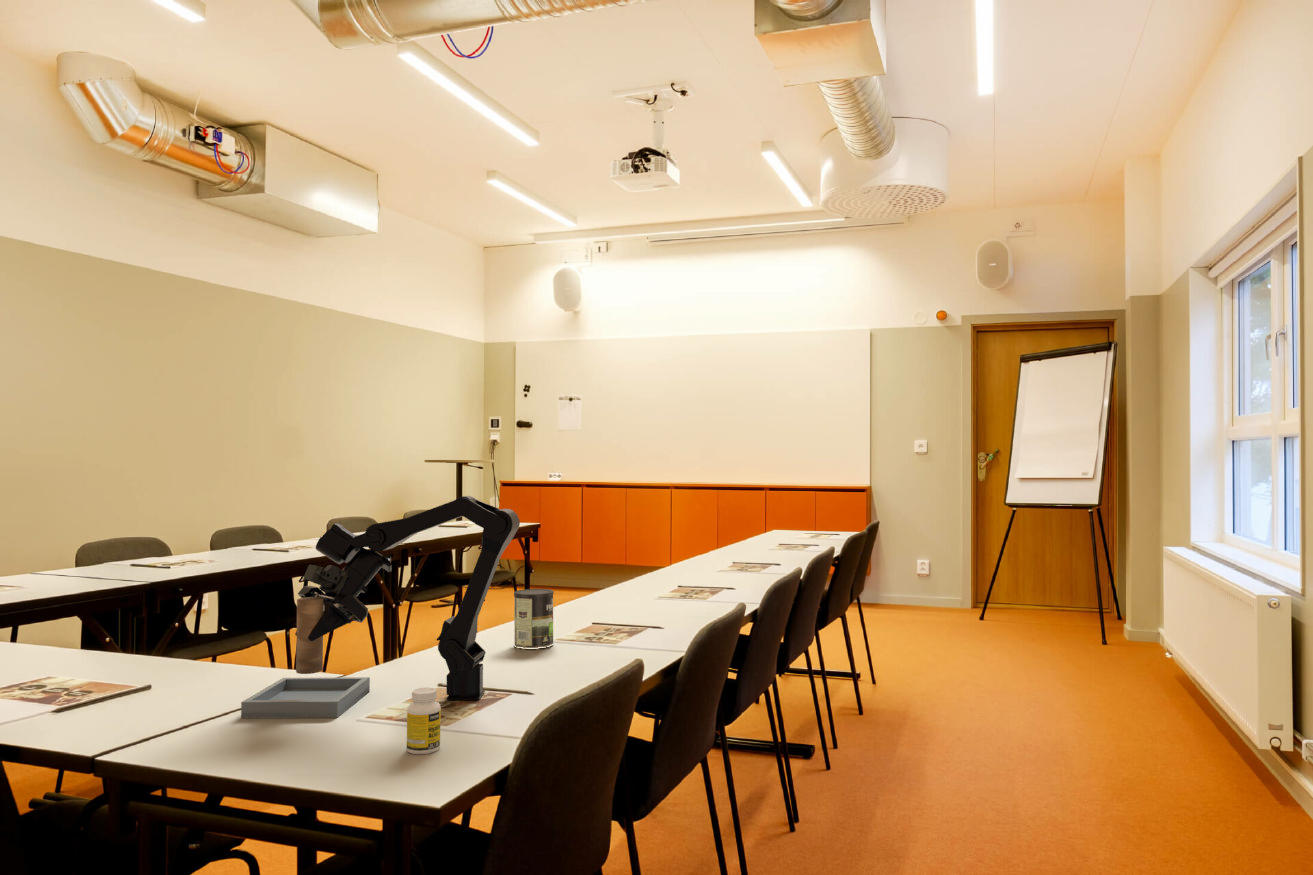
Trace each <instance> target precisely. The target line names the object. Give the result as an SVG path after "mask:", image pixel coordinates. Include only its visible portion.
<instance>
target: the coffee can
mask: <svg viewBox="0 0 1313 875" xmlns="http://www.w3.org/2000/svg"><path fill="white" fill-rule="evenodd" d="M554 594H555V593H554V590H552V589H548V588H547V589H546V588H526V589H525V588H524V589H519V590H518V589H517V590H515V591H513V597H514V600H513V601H514V605H513V606H514V611H513V612H514V614H513V615H514V618H513V619H514V629H513V630H514V635H513V636H514V645H515V646H516V647H523V648H538V647H547V646H550V645H552V644H554ZM514 645H513V646H514Z"/></svg>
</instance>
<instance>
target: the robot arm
mask: <svg viewBox="0 0 1313 875" xmlns="http://www.w3.org/2000/svg"><path fill="white" fill-rule="evenodd" d="M462 517H463V518H465V519H467V520H468V521H470V522H472V523H473V524H475V525H476V526H478V527H480V528H482V529H483V530H482V533H481V534H482V535H481V536H482V537H481V549H480V552H479V556H478V558H477V561H476V563H475V565H474V568H473V570H472V571H473V572H472V574H471V576H470V578H469V582H468V584H467V588H466V590H465V592H464V594H463V598H462V601H461V603H460V606H459V608H458V611H457V613H456V615H455V616H454V615H453V616H451V617H449V618H447V619H446V620H444V621H443V623H442V627H441V633H440V634H439V636H438V637H437V638H436V641H437V642H438V644H437V650H438V652H439V655H440V656H441V657H442V658H443V659H444V661H445V663H446V666H447V670H448V671H449V672H448V673H447V674H446V695H447V697H446V700H447V701H477V700H480V699H481V698H482V696H483V695H484V694H485V692H486V690H485V688H484V664H483V663H482V662H483V661H484V659H485V655H486V653H487V652H486V650H485V649H484V648H483V647H482V646H481V645H480V644H479V643H478V642H477V641H476V639H477V633H478V620H479V615H480V613H481V610H482V607H483V604H484V602H485V599H486V596H487V594H488V592H489V589H490V587H491V583H492V580H493V579H494V575H495V573H496V570H497V567H498V565H499V561H500V559H501V557H502V555H503V553H504V552H505V550H506V549H507V547H508V546H509V544H510V543H511V542H512V540H513V539H514V537H515V535H516V533H517V532H518V530H519V527H520V524H521V522H520V520H521V519H520V518H519V516H518V513H516V512H515V511H514V510H513V509H510V508H502V509H500V508H498V507H496V506H494V505H491V504H489V503H486V502H483V501H481V500H479V499H476V498H475V497H474V496H471V495H463V496H458V497H457V498H456V499H455V500H451V501H449V502H446V503H443V504H441V505H438V506H436V507H433V508H430V509H427V510H425V511H422V512H420V513H419V512H418V513H416V514H413V515H412V516H409V517H408V516H407V517H406V518H399V519H394V520H388V521H383V522H379V523H373V524H371V525H369V526H368V527H367V528H366V529H365V532H363V533H362V534H358V535H356V534H354V533H353V532H352V531H351V530H348V529H347V528H345V527H344V525H342V524H340V523H339V522H338V523H333V524H332V525H331V527H330V528H328V529H327V530H326V532H324V534H323V535H321V536H320V537H319V539H318V540H317V542H316V545H315V550H316V551H317V552H319V553H320V554H322V555H324V556H325V557H327V558H328V559H329V560H331V561H333V562H334V563H335V564H338V565H341V564H343V563H346V565H345V566H344V568H342V569H340V567H338V566H336V565H332V564H328V565H327V566H326V567H322V566H319V565H314V564H308V566H307V568H306V570H305V573H304V576H303V578H302V580H303V581H305V582H311V583H313V584H315V585H316V584H317V585H318V586H319V587H318V586H312V585H305V586H303V587H302V588H301V589H300V590H299V591H298V593H297V595H298V596H299V597H300V598H306V597H322V598H324V602H323V615H322V617H321V618H320V620H319V621H318V623H317V624H316V625H315V627H314V628H313V630H312V631H311V633H310V634H309V636H308V639H309V640H310V641H314V640H316V639H318V638H319V637H321V636H323V637H324V636H325V635H327V634H330V633H331V632H333V631H335V630H337V629H339V628H341V627H344V626H346V625H347V624H352V620H351V618H352V617H353V618H352V619H353V621H354V622H357V623H363V622H364V621H365V619H366V618H367V617H368V614H369V608H368V607H367V606H366V605H365V604H364V603H363V602H362V601H360V599H358V598H357V597H358V596H359V594H361V593H363V594H365V593H367V592H368V591H369V588H368V587H367V585H368V584H369V583H370V582H371V581H372V579H373V578H374V577H375V576H376V575H377V573H378V572H379V571H380V570H381V569H383V570H385V571H387V572H388V573H391V572H392V555H382V554H381V553H379V552H384V551H387V550H390V549H394V548H395V547H397V546H399V545H400V544H402V543H404V542H406V541H407V540H409V539H410V538H412V537H414V536H415V535H417V534H418V533H421V532H423V531H426V530H430V529H432V528H435V527H439V526H440V525H444V524H446V523H448V522H452V521H454V520H456V519H459V518H462ZM367 548H368V549H367ZM294 634H295V637H297V630H296V631H295V633H294ZM483 693H484V694H483Z"/></svg>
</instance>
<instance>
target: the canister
mask: <svg viewBox="0 0 1313 875" xmlns="http://www.w3.org/2000/svg"><path fill="white" fill-rule="evenodd" d="M323 602H324V598H322V597H306V598H301V597H300V598H298V599H296V631H297V636H296V659H295V673H296V674H297V675H298V674H300V675H308V674H309V675H311V674H317V673H320V672H322V671H324V635H323V636H321V637H319V638H318V639H316V640H314V641H310V640H309V639H308V636H309V634H310V633H311V631H312V630H313V628H314V627H315V625H316V624H317V623H318V621H319V620H320V618H321V617H322V615H323Z"/></svg>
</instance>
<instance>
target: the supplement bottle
mask: <svg viewBox="0 0 1313 875" xmlns="http://www.w3.org/2000/svg"><path fill="white" fill-rule="evenodd" d="M437 692H438V691H437V689H436V687H418V688H414V689H413V690H412V691H411V701H412V702H411V703H410V704H409V705H408V706H407V709H406V710H407V711H406V751H407V752H408V753H409V754H413V755H427V754H433V753H435V752H437V751H439V749H440V748H441V721H442V720H441V713H442V712H441V704H440V703H439V702H438V701H436V700H437V698H438V696H437V695H438V694H437Z"/></svg>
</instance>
